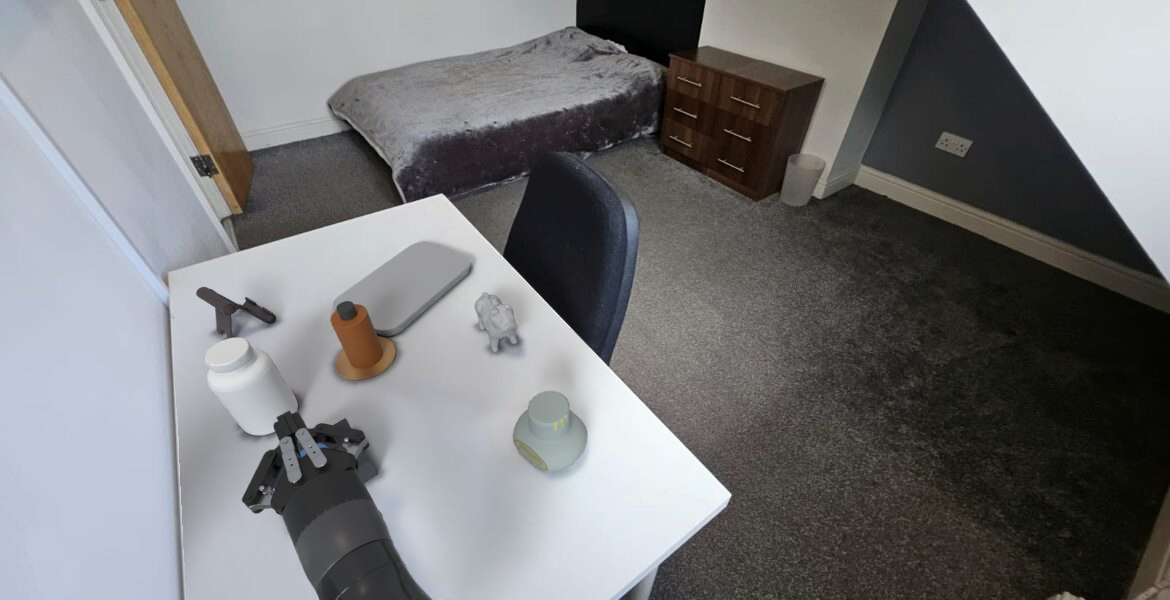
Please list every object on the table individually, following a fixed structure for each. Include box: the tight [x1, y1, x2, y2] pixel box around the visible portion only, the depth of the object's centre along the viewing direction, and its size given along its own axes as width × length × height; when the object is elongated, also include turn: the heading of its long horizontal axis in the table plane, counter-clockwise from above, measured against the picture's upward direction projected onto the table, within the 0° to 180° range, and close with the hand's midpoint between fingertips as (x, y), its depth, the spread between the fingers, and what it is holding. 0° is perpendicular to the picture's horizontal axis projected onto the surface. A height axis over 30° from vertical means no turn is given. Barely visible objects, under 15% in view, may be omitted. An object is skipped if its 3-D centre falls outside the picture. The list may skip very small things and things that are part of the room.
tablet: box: [331, 241, 472, 337], centre depth 97 cm, size 16×26×2 cm, turn 152°
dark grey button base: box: [273, 417, 378, 490], centre depth 64 cm, size 11×10×6 cm
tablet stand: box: [195, 286, 278, 339], centre depth 86 cm, size 9×8×8 cm
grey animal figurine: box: [474, 291, 519, 353], centre depth 84 cm, size 5×13×11 cm, turn 32°
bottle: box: [329, 301, 383, 369], centre depth 79 cm, size 6×6×12 cm
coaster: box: [335, 335, 397, 381], centre depth 83 cm, size 10×10×1 cm
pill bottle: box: [204, 337, 299, 436], centre depth 69 cm, size 8×8×15 cm
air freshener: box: [512, 390, 588, 473], centre depth 67 cm, size 11×8×10 cm
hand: (285, 417), depth 56 cm, fingers closed
